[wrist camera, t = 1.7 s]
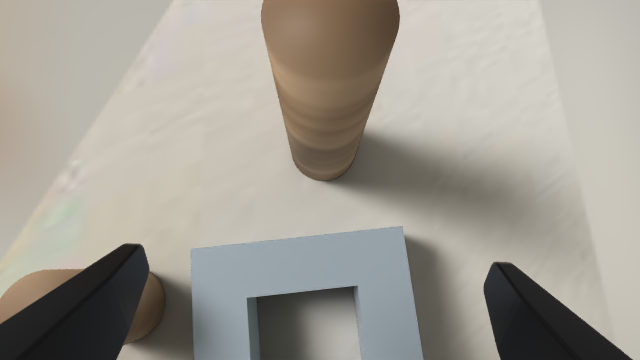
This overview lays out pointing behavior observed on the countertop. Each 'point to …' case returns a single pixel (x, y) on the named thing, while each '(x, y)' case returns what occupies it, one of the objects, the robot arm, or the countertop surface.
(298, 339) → the countertop surface
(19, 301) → the walnut peg short
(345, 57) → the walnut peg long
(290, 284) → the collar block
